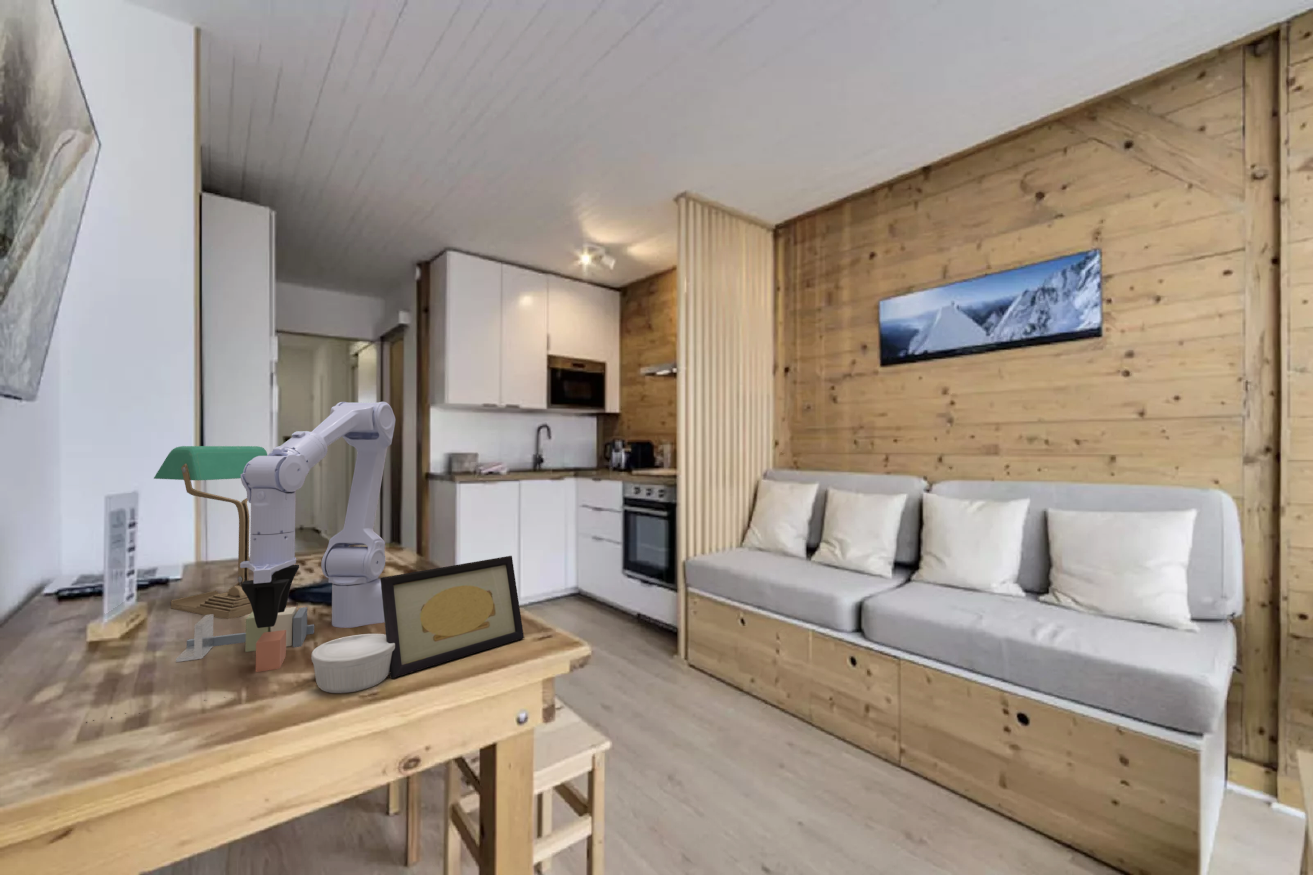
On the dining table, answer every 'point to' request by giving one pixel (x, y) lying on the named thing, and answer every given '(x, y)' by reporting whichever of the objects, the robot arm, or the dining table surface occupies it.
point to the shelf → (298, 632)
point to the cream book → (286, 624)
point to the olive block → (253, 633)
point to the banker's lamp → (217, 466)
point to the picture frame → (450, 612)
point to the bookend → (199, 640)
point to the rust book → (270, 650)
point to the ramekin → (352, 662)
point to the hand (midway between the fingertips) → (271, 619)
